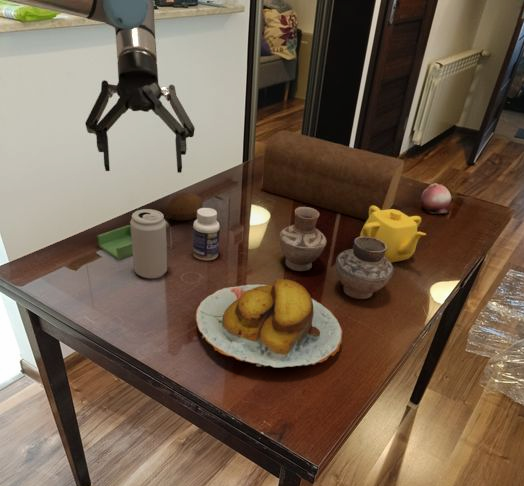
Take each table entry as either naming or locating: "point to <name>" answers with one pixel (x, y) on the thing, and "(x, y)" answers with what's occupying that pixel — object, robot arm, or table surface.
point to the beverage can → (149, 243)
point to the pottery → (347, 262)
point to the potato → (184, 207)
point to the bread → (329, 174)
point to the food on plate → (269, 325)
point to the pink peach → (435, 199)
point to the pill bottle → (206, 234)
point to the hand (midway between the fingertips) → (144, 169)
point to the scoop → (118, 242)
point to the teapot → (393, 232)
